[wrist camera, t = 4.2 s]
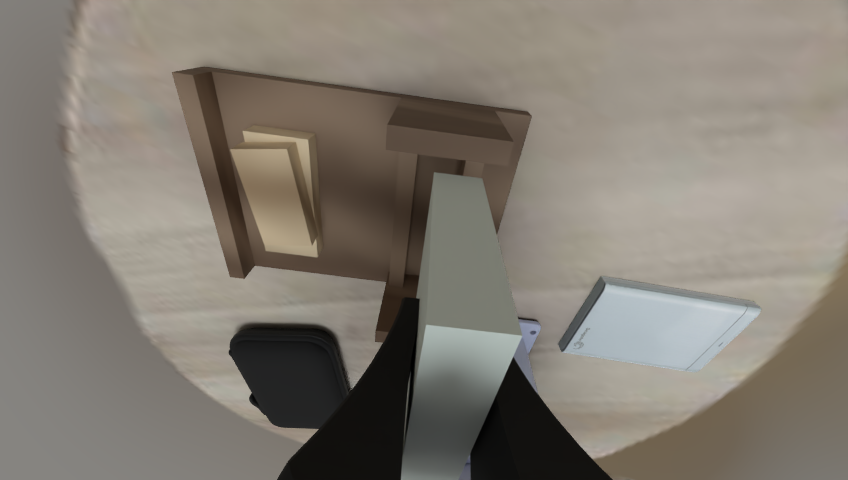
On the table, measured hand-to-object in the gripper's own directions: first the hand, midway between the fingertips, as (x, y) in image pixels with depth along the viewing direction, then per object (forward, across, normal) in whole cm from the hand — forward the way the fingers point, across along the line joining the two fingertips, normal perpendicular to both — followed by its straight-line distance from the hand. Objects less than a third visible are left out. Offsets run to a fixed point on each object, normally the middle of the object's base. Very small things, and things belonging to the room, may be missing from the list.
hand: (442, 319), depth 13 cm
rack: (+10, +5, 0) cm, 12 cm away
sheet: (+4, 0, 0) cm, 4 cm away
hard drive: (+11, -19, +9) cm, 24 cm away
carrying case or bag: (+11, +12, +22) cm, 27 cm away
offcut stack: (+9, +10, 0) cm, 13 cm away
